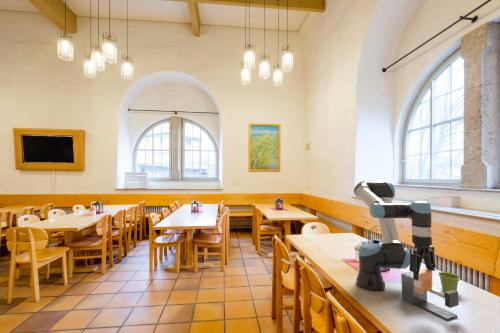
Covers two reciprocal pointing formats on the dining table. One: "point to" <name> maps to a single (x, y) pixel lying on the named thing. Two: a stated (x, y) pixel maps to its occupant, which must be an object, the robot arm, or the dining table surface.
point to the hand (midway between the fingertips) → (423, 285)
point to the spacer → (425, 281)
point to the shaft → (448, 297)
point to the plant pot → (448, 281)
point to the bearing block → (421, 298)
